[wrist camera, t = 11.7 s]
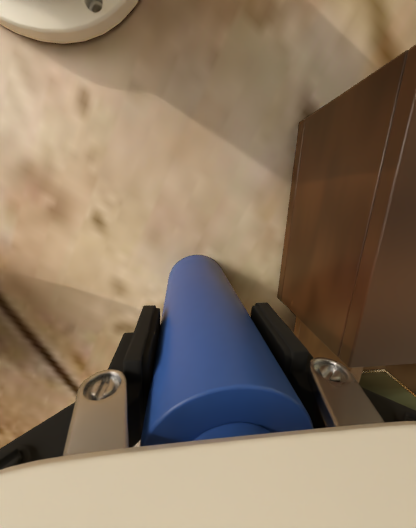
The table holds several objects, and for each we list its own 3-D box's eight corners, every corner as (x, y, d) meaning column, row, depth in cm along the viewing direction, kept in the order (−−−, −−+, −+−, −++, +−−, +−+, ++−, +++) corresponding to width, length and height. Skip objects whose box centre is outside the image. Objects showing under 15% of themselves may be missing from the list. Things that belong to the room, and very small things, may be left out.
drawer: (372, 413, 23) (445, 494, 17) (271, 423, 22) (308, 515, 16) (417, 263, 19) (541, 296, 12) (293, 264, 18) (359, 301, 11)
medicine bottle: (169, 307, 18) (95, 916, 3) (167, 254, 17) (19, 809, 1) (222, 306, 19) (420, 804, 3) (225, 254, 18) (566, 659, 2)
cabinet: (403, 294, 21) (548, 355, 12) (276, 297, 19) (348, 369, 11) (450, 134, 17) (701, 70, 9) (298, 122, 16) (431, 32, 7)
